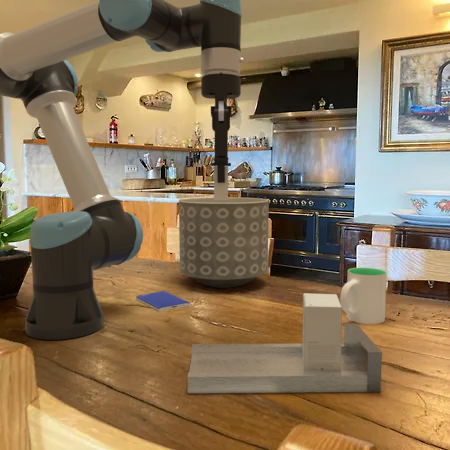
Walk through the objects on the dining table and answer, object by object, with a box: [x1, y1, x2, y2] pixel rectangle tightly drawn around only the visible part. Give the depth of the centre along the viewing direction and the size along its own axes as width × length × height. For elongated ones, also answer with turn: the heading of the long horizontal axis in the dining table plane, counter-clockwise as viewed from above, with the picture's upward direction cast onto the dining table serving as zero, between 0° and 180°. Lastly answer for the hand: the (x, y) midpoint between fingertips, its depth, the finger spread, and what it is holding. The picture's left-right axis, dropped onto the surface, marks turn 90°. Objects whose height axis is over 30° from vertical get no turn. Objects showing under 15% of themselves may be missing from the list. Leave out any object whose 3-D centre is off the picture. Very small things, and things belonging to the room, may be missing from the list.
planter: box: [178, 196, 270, 289], centre depth 135 cm, size 25×25×24 cm
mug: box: [339, 267, 387, 325], centre depth 102 cm, size 12×8×10 cm
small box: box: [301, 292, 343, 372], centre depth 75 cm, size 8×6×10 cm
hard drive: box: [135, 290, 190, 312], centre depth 117 cm, size 2×8×12 cm
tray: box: [187, 322, 383, 394], centre depth 75 cm, size 28×13×6 cm, turn 91°
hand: (221, 199), depth 93 cm, fingers closed
